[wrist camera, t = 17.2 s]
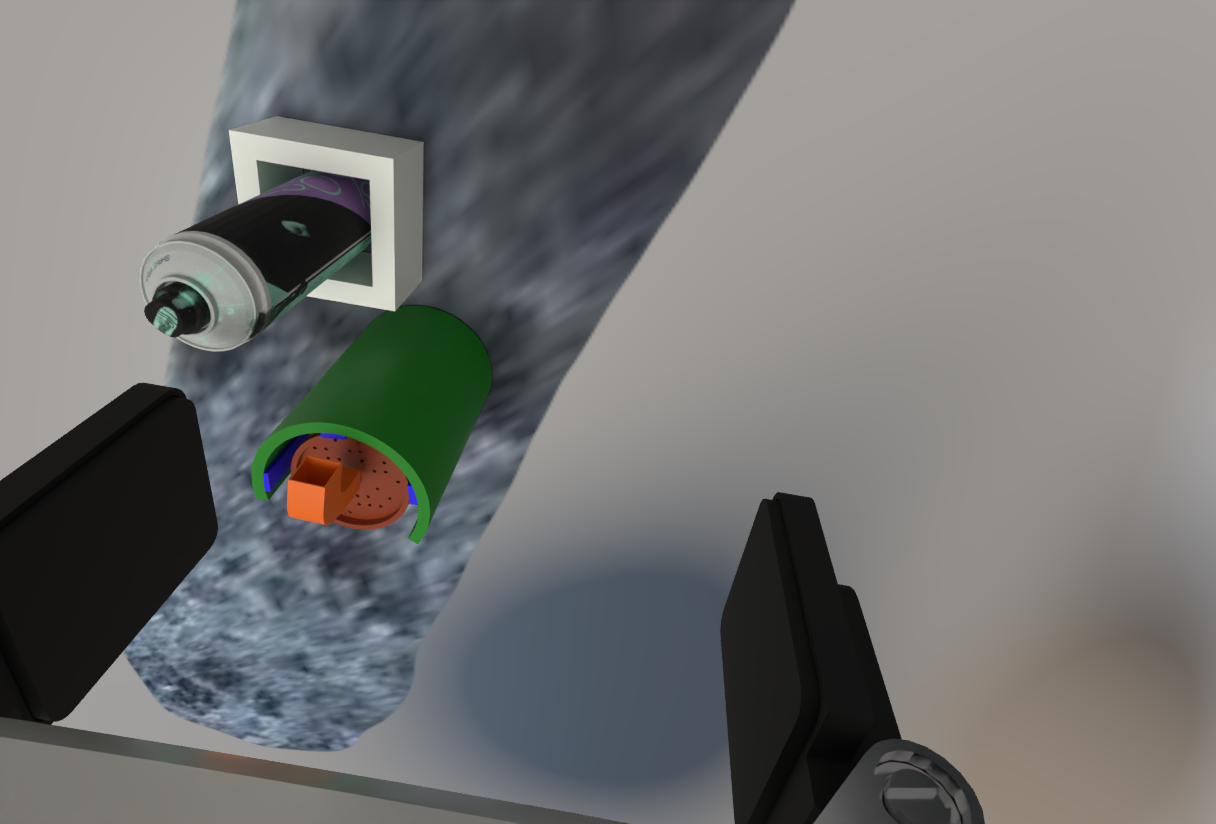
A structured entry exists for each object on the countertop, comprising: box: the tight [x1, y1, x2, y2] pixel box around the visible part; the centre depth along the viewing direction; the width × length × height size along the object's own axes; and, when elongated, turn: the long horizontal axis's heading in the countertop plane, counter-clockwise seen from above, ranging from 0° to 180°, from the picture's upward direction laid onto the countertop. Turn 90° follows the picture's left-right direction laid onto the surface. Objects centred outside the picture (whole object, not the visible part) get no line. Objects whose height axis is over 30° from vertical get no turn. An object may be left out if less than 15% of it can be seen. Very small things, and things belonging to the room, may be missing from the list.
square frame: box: [229, 116, 424, 311], centre depth 44 cm, size 9×9×6 cm
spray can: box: [139, 170, 372, 351], centre depth 37 cm, size 6×6×20 cm
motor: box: [252, 305, 492, 544], centre depth 43 cm, size 10×9×20 cm
